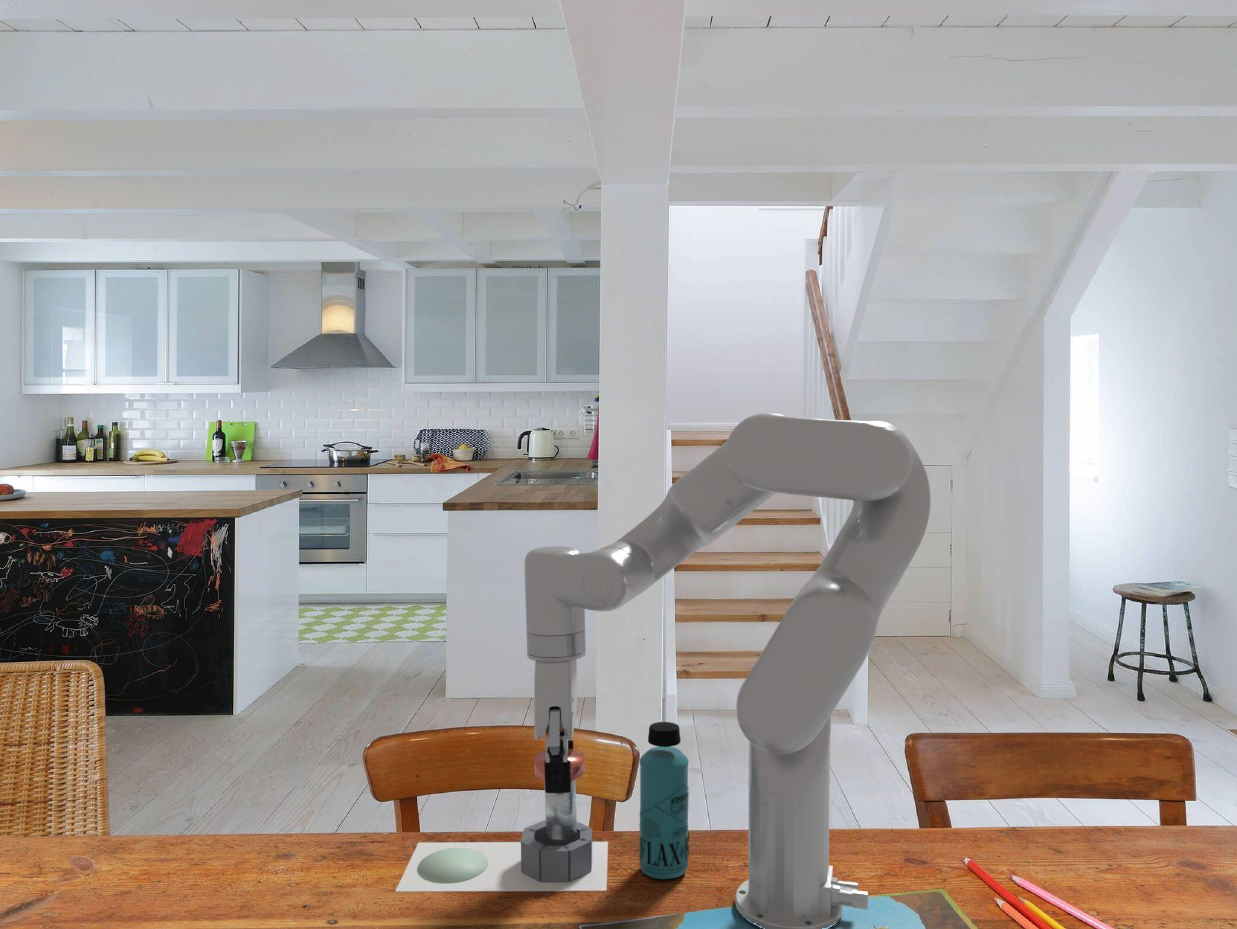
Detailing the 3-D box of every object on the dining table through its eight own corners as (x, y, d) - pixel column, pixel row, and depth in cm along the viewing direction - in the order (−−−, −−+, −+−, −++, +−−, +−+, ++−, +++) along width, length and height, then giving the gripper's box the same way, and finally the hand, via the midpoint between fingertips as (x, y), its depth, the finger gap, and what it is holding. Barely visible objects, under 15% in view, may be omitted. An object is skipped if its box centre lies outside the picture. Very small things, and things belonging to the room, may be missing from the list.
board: (608, 848, 126) (607, 813, 126) (606, 898, 113) (606, 858, 113) (418, 849, 126) (417, 814, 126) (395, 899, 113) (394, 859, 113)
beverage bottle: (629, 884, 116) (629, 729, 115) (652, 861, 122) (651, 713, 121) (676, 896, 113) (676, 737, 112) (697, 872, 119) (697, 721, 118)
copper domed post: (547, 820, 123) (544, 746, 123) (592, 824, 121) (590, 750, 121) (529, 841, 117) (526, 763, 116) (576, 846, 115) (574, 768, 115)
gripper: (533, 629, 127) (537, 757, 127) (519, 661, 109) (523, 809, 110) (587, 628, 127) (591, 756, 127) (582, 660, 109) (586, 808, 110)
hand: (560, 779), depth 119 cm, fingers closed on copper domed post, 6 cm apart
